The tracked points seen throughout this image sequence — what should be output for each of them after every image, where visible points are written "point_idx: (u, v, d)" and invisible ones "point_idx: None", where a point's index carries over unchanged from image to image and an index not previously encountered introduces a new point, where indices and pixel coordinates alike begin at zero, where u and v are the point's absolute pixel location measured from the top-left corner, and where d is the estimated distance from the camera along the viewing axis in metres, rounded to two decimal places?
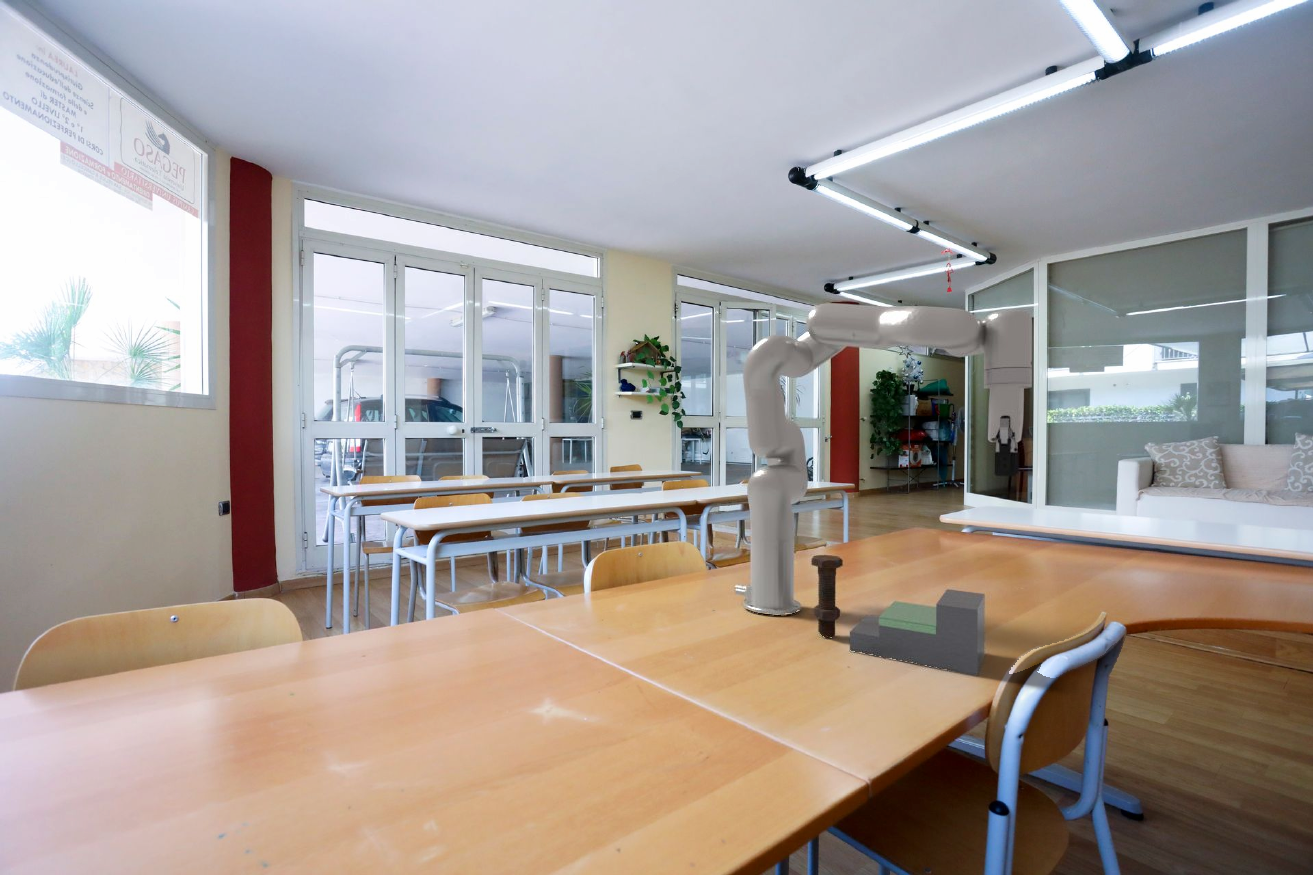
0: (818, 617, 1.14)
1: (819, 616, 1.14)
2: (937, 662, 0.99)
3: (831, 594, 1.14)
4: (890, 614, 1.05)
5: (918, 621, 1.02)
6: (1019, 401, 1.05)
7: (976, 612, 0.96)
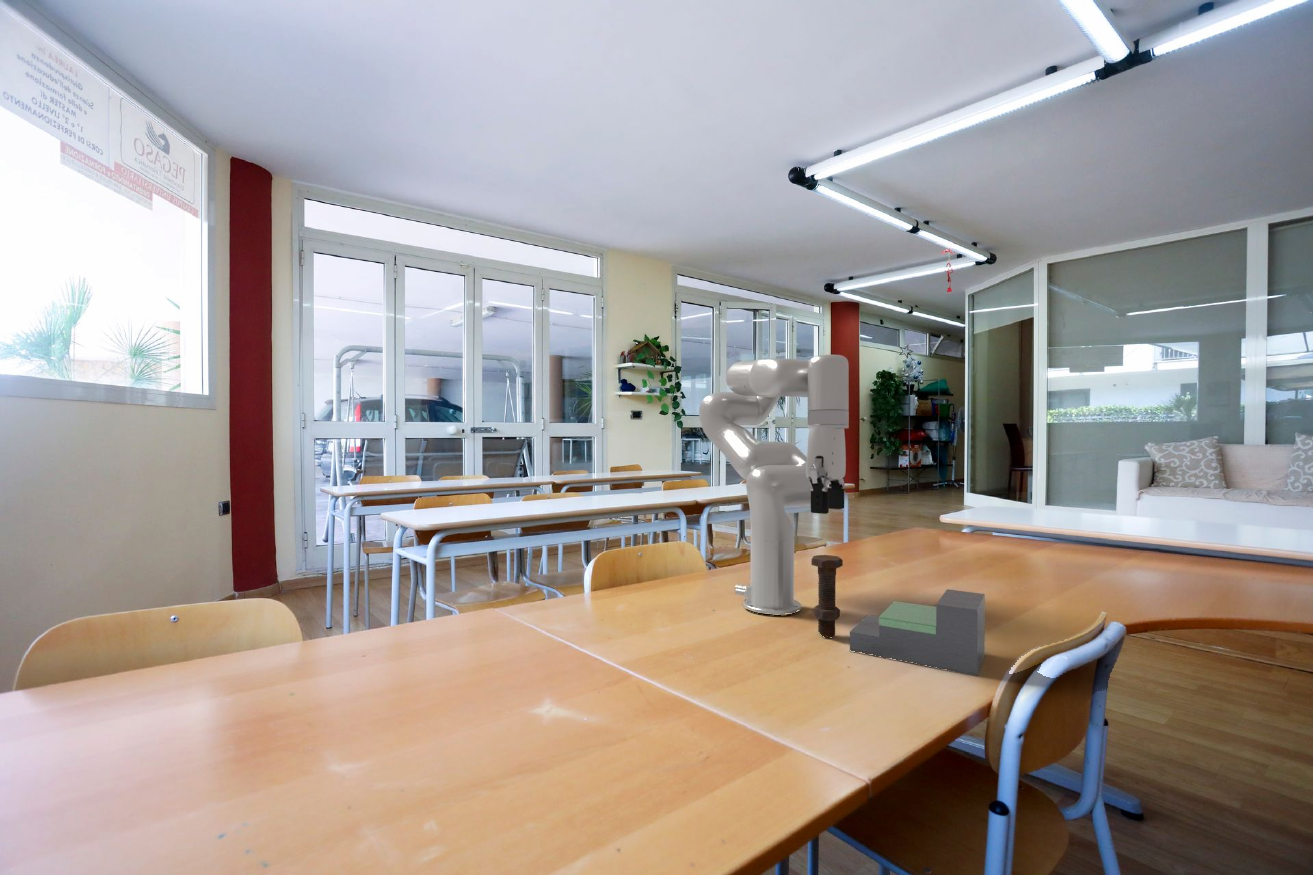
0: (818, 617, 1.14)
1: (819, 616, 1.14)
2: (937, 662, 0.99)
3: (831, 594, 1.14)
4: (890, 614, 1.05)
5: (918, 621, 1.02)
6: (832, 442, 1.11)
7: (976, 612, 0.96)
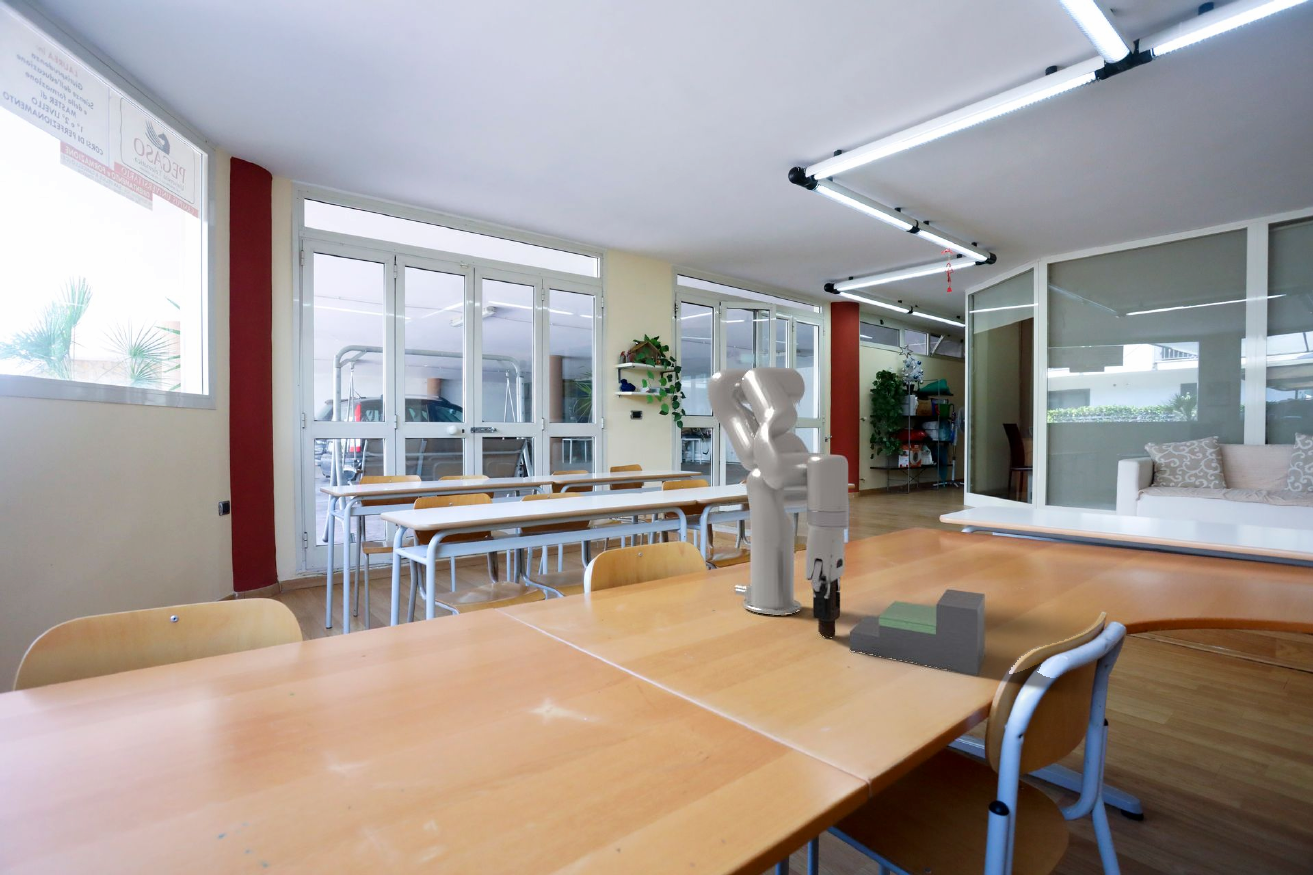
0: None
1: None
2: (937, 662, 0.99)
3: (831, 594, 1.14)
4: (890, 614, 1.05)
5: (918, 621, 1.02)
6: (831, 545, 1.11)
7: (976, 612, 0.96)
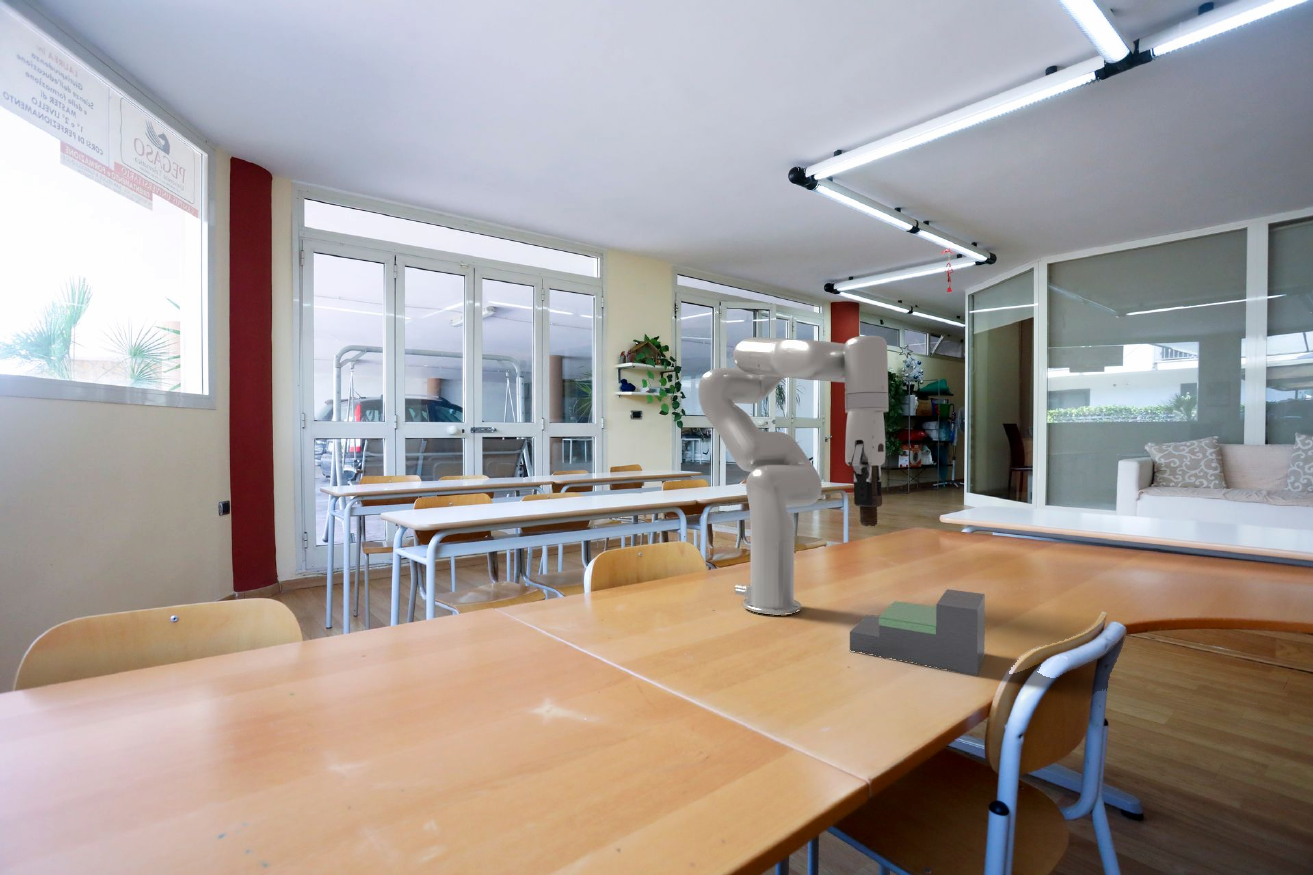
0: None
1: None
2: (937, 662, 0.99)
3: (873, 479, 1.10)
4: (890, 614, 1.05)
5: (918, 621, 1.02)
6: (872, 425, 1.07)
7: (976, 612, 0.96)
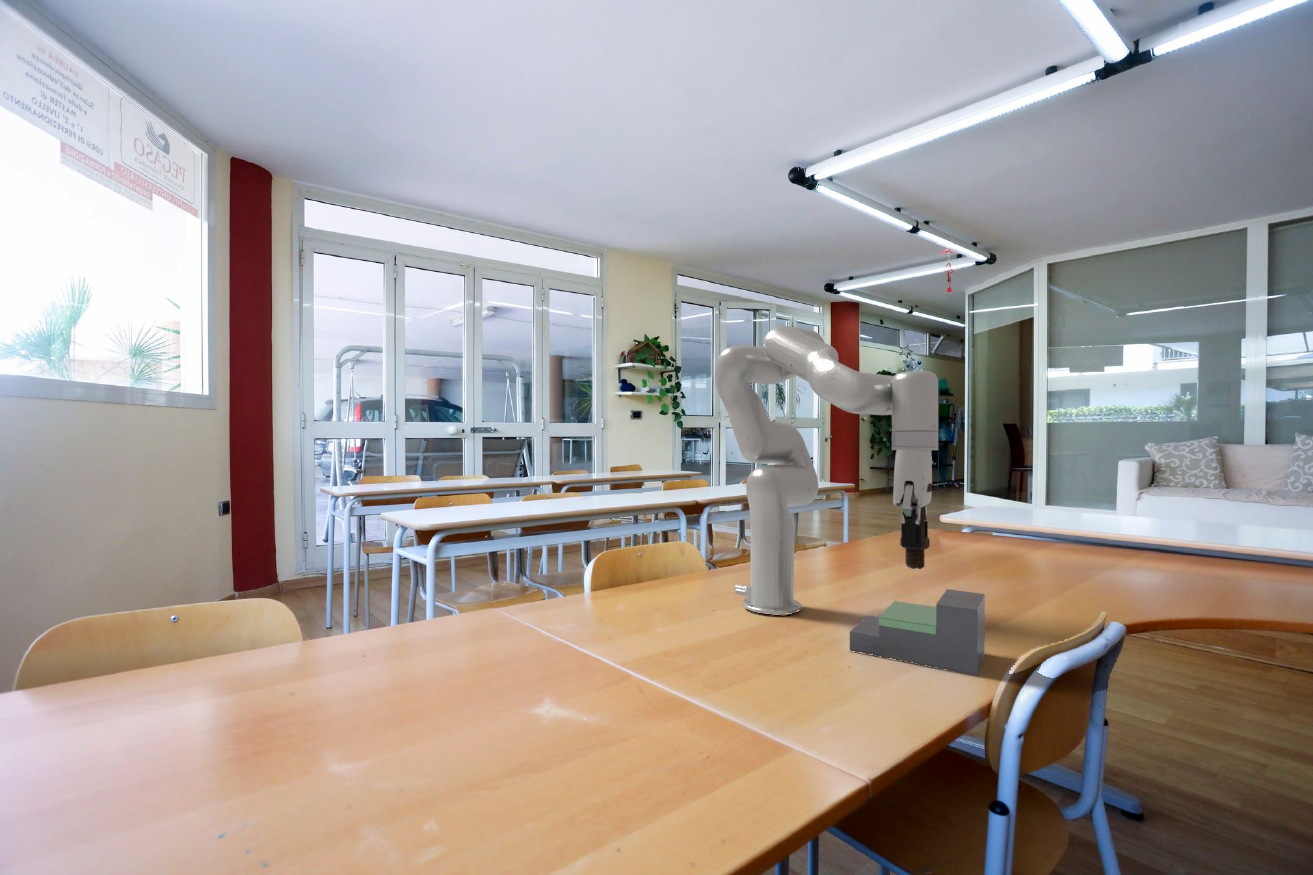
0: None
1: None
2: (937, 662, 0.99)
3: (921, 521, 1.05)
4: (890, 614, 1.05)
5: (918, 621, 1.02)
6: (923, 466, 1.02)
7: (976, 612, 0.96)
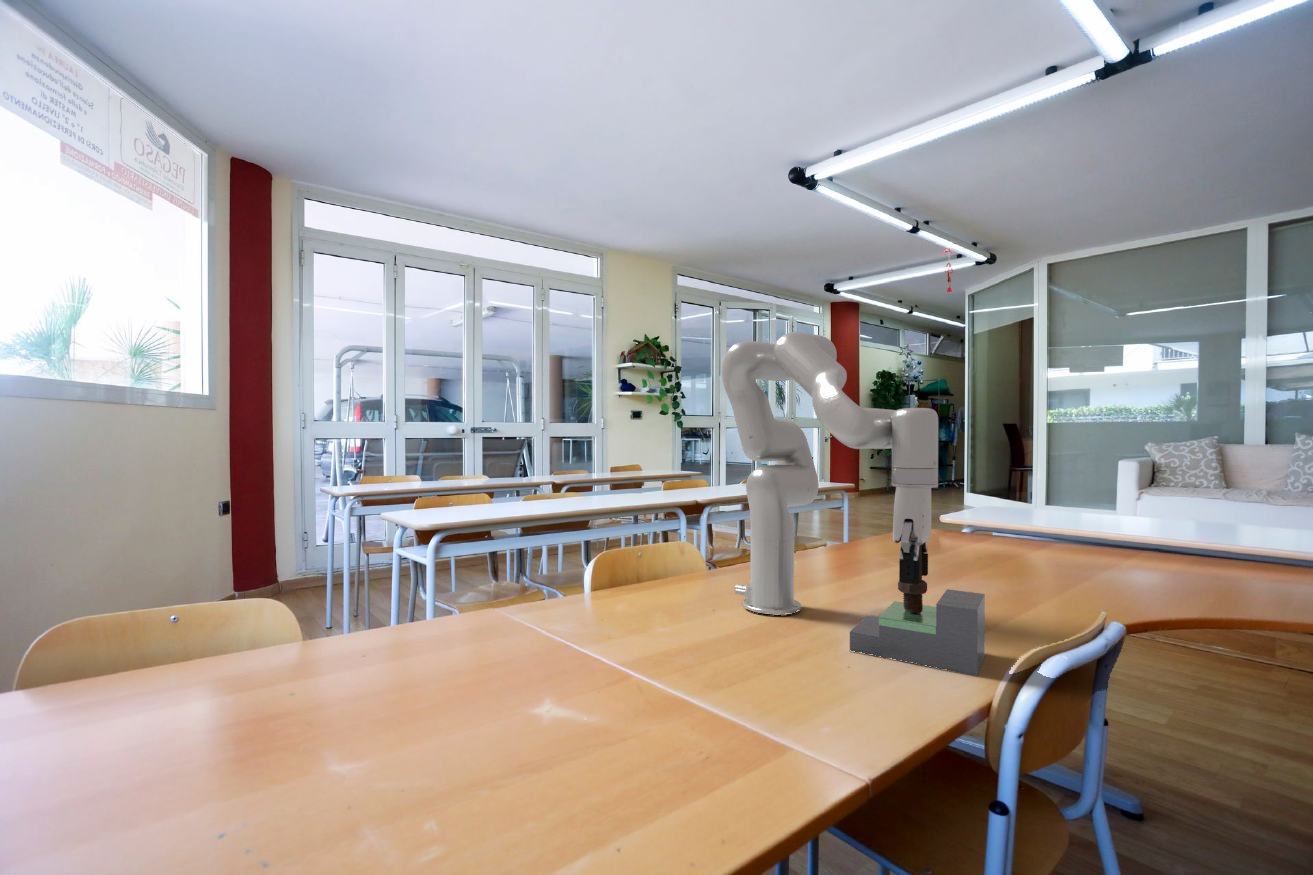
0: (904, 591, 1.06)
1: (906, 590, 1.06)
2: (937, 662, 0.99)
3: None
4: (890, 614, 1.05)
5: (918, 621, 1.02)
6: (922, 504, 1.02)
7: (976, 612, 0.96)
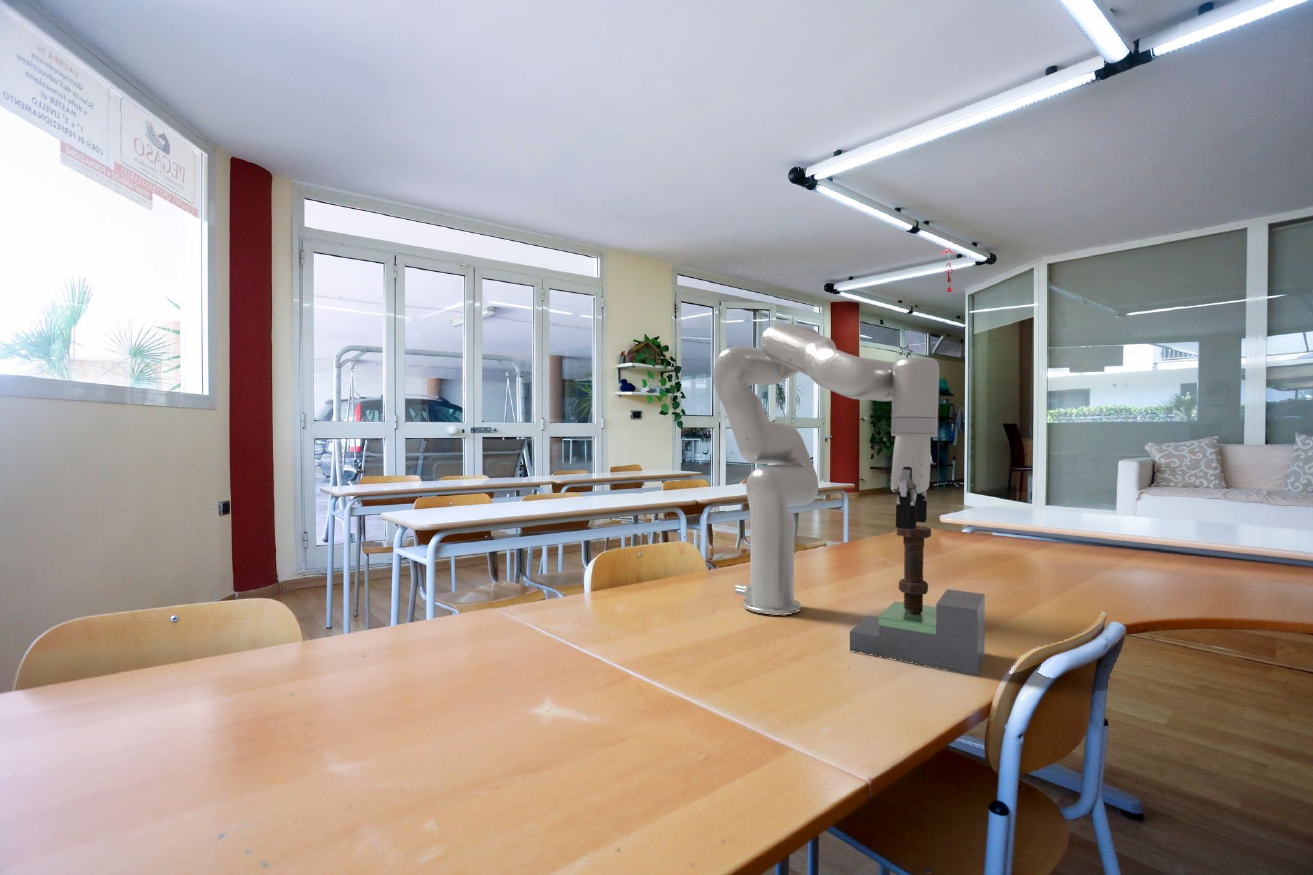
0: (905, 591, 1.06)
1: (906, 590, 1.06)
2: (937, 662, 0.99)
3: (919, 566, 1.06)
4: (890, 614, 1.05)
5: (918, 621, 1.02)
6: (921, 452, 1.03)
7: (976, 612, 0.96)
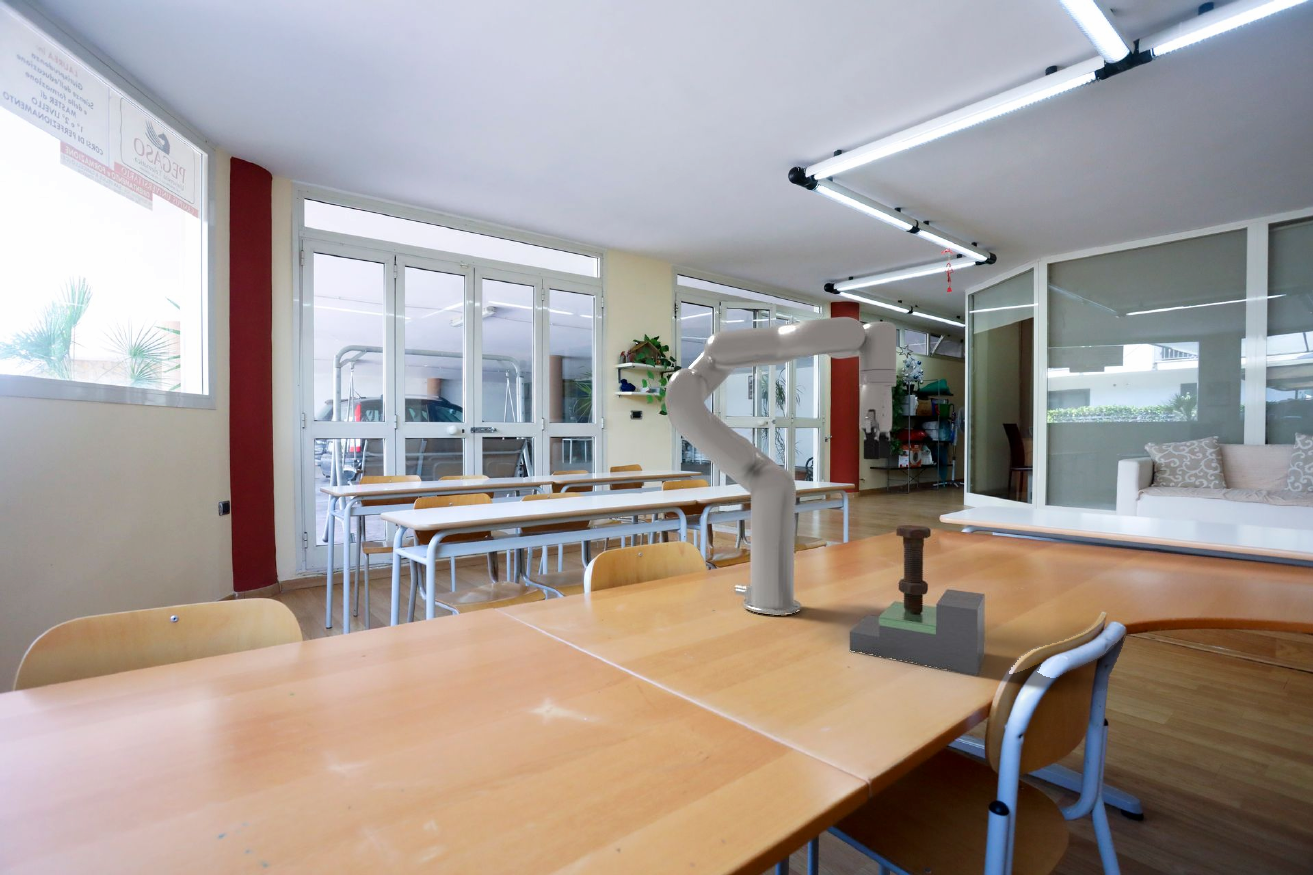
0: (905, 591, 1.06)
1: (906, 590, 1.06)
2: (937, 662, 0.99)
3: (919, 566, 1.06)
4: (890, 614, 1.05)
5: (918, 621, 1.02)
6: (883, 397, 1.27)
7: (976, 612, 0.96)
